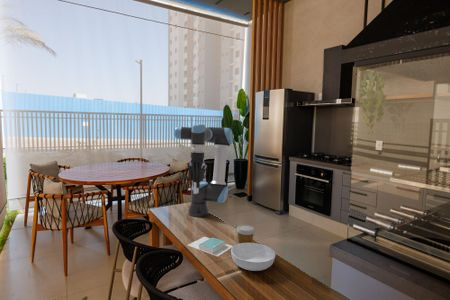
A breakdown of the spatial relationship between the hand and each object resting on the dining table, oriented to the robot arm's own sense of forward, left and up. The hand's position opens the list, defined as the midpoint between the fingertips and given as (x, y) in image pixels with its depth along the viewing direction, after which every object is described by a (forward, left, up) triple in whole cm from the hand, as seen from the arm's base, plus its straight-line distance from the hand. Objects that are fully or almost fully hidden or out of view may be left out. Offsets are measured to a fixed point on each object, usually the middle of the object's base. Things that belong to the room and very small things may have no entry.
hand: (195, 193), depth 153 cm
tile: (+4, +11, -25) cm, 27 cm away
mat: (+3, +14, -26) cm, 30 cm away
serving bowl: (+6, +41, -27) cm, 49 cm away
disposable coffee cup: (-6, +30, -27) cm, 41 cm away
